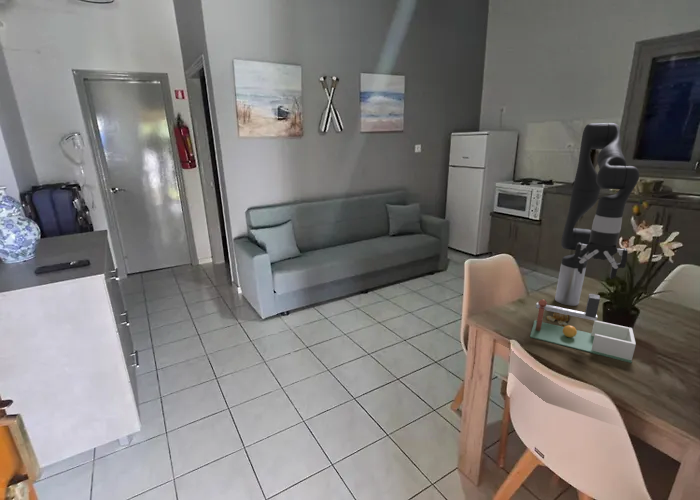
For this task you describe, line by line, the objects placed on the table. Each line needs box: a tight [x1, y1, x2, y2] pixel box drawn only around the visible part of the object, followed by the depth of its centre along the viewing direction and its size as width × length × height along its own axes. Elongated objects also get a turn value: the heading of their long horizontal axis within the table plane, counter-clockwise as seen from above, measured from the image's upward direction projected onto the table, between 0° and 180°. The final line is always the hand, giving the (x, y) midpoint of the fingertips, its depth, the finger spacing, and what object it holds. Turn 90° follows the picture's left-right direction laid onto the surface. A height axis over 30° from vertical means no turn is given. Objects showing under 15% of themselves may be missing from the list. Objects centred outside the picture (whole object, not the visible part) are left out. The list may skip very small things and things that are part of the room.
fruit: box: [546, 312, 571, 327], centre depth 143 cm, size 8×8×4 cm
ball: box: [563, 324, 577, 338], centre depth 131 cm, size 4×4×4 cm
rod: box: [535, 293, 601, 331], centre depth 130 cm, size 4×19×17 cm, turn 58°
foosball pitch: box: [529, 319, 637, 364], centre depth 129 cm, size 14×30×6 cm, turn 58°
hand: (595, 275), depth 121 cm, fingers open, 8 cm apart
